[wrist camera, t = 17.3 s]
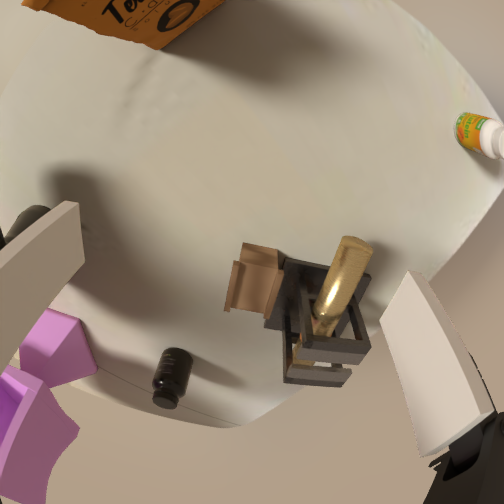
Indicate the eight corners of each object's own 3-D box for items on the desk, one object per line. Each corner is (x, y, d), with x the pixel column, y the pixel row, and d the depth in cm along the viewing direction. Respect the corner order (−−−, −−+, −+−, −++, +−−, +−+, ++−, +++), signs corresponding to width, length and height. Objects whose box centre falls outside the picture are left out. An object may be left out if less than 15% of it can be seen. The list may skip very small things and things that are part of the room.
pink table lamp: (82, 315, 52) (-4, 493, 13) (103, 372, 63) (51, 513, 25) (17, 292, 51) (-70, 426, 12) (43, 348, 62) (-16, 466, 24)
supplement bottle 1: (199, 364, 56) (188, 412, 46) (173, 367, 58) (160, 412, 47) (182, 344, 53) (168, 393, 42) (156, 348, 54) (139, 395, 44)
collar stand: (264, 323, 48) (261, 388, 37) (285, 257, 41) (290, 323, 30) (337, 334, 49) (349, 395, 38) (369, 274, 42) (396, 336, 30)
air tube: (311, 366, 44) (303, 383, 41) (289, 355, 45) (280, 372, 42) (374, 245, 32) (372, 259, 28) (343, 231, 33) (337, 244, 30)
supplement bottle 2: (457, 105, 27) (501, 115, 19) (481, 121, 27) (523, 135, 19) (449, 138, 30) (491, 155, 21) (472, 152, 30) (513, 172, 22)
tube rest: (229, 285, 44) (223, 310, 39) (237, 241, 40) (232, 264, 35) (269, 292, 45) (268, 319, 39) (282, 250, 41) (284, 274, 35)
